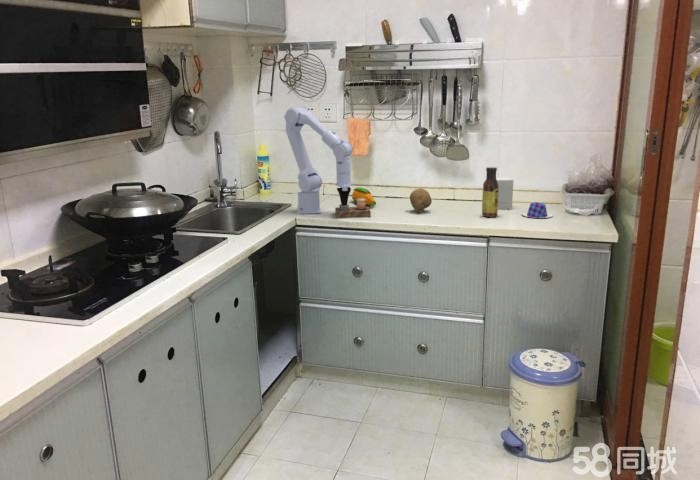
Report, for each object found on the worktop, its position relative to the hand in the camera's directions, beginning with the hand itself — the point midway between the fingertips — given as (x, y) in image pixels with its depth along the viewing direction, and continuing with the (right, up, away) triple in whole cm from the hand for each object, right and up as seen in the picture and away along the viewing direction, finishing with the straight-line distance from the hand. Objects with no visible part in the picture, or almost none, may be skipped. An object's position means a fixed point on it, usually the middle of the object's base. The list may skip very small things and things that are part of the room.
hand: (344, 205), depth 244 cm
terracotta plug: (+7, -1, +1) cm, 7 cm away
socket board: (+4, -4, +1) cm, 6 cm away
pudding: (+78, -5, -5) cm, 78 cm away
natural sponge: (+32, -3, +5) cm, 33 cm away
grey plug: (0, -4, +1) cm, 4 cm away
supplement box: (+68, -1, +11) cm, 69 cm away
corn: (+9, +1, +21) cm, 23 cm away
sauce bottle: (+59, -5, -4) cm, 60 cm away
